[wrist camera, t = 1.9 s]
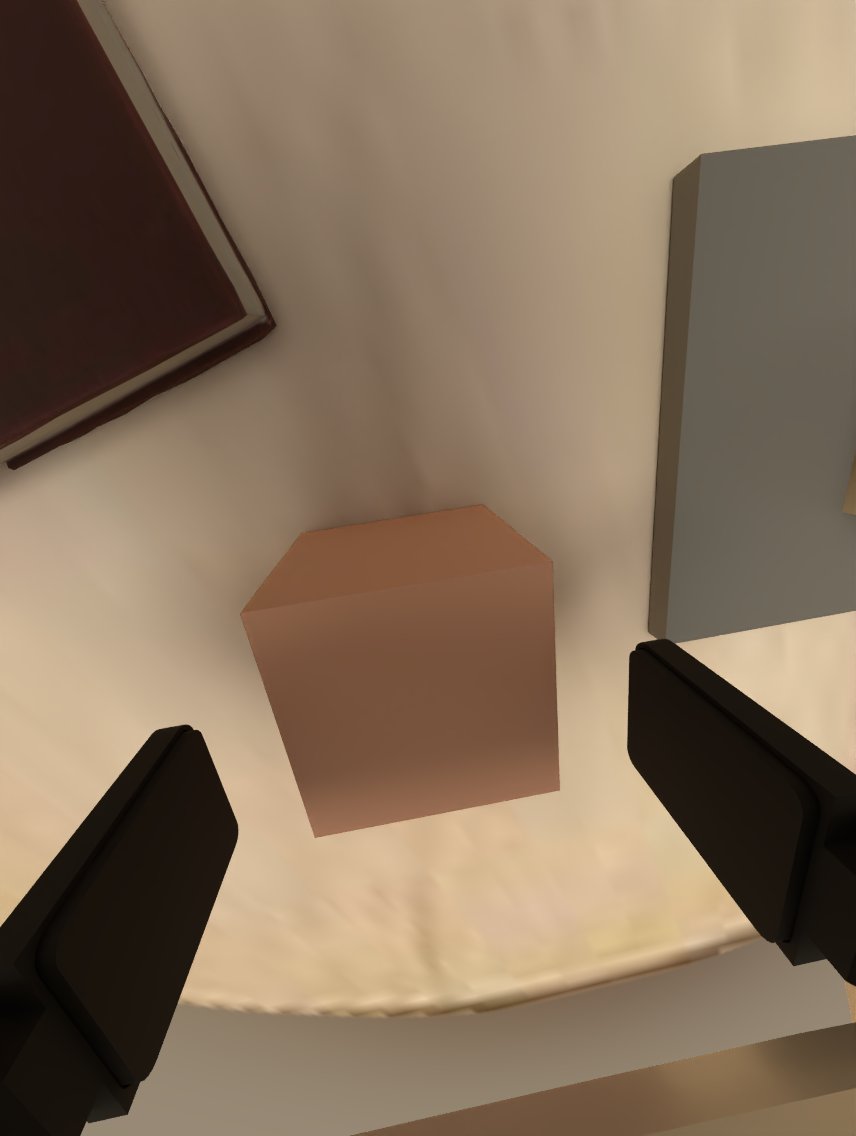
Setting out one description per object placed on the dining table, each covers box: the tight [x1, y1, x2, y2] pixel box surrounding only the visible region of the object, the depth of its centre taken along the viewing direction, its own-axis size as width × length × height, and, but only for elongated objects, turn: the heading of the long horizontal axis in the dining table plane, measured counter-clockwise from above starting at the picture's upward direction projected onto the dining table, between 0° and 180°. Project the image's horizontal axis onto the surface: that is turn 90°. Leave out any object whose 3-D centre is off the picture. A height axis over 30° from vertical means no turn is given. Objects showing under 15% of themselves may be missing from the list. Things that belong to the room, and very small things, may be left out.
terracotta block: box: [240, 504, 560, 838], centre depth 12 cm, size 6×6×6 cm
